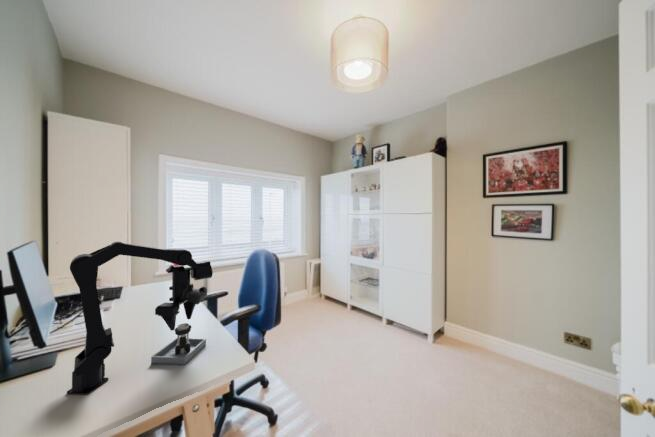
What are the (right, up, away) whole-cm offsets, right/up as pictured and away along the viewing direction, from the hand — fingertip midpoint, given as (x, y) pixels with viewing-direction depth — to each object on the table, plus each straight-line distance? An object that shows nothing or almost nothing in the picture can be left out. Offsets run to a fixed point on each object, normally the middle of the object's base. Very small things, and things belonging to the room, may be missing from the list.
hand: (181, 324), depth 88 cm
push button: (0, -11, 0) cm, 11 cm away
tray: (0, -11, 0) cm, 11 cm away
